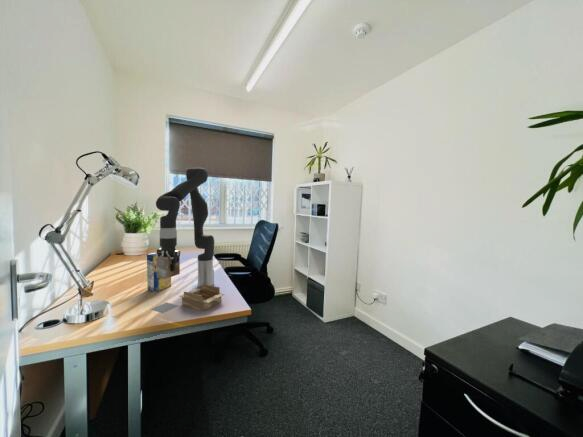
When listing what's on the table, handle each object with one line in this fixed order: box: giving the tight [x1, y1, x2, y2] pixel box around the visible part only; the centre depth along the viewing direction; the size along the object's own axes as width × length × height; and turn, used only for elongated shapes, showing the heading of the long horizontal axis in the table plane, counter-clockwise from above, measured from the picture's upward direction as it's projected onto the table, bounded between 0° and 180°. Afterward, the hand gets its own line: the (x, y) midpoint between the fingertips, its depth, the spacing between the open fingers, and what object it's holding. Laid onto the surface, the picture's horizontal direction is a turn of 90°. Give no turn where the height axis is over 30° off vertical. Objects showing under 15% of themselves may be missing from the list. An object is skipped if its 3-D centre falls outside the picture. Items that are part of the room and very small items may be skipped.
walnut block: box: [157, 256, 181, 279], centre depth 115 cm, size 9×5×10 cm, turn 158°
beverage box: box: [146, 251, 172, 293], centre depth 143 cm, size 7×11×22 cm, turn 151°
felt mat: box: [150, 301, 179, 314], centre depth 116 cm, size 9×9×1 cm
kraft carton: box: [179, 284, 225, 312], centre depth 121 cm, size 13×19×8 cm
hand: (168, 270), depth 115 cm, fingers closed on walnut block, 5 cm apart
